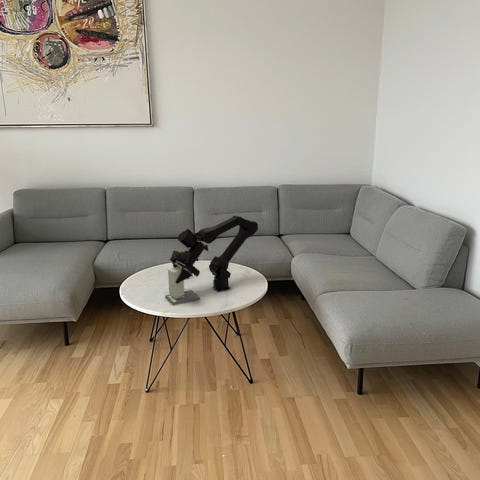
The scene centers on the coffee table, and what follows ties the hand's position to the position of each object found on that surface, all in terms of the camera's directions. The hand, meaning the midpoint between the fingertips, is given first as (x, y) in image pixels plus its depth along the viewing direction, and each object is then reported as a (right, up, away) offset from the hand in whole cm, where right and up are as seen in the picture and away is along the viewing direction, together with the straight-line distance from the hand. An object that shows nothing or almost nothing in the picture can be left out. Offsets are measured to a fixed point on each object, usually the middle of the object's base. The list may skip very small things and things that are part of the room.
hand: (173, 281), depth 199 cm
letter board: (+3, -8, +6) cm, 10 cm away
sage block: (+1, -6, +3) cm, 7 cm away
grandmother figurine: (+2, -1, +31) cm, 31 cm away
